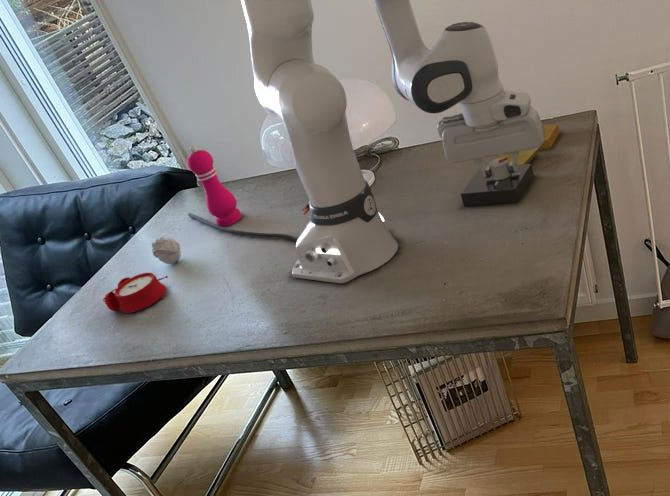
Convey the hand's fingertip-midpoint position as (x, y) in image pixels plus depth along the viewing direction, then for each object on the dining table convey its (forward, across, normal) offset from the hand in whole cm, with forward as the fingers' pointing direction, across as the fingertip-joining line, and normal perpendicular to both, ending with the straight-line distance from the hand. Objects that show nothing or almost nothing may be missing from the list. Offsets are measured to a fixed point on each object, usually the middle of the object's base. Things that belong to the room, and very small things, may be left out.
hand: (501, 173), depth 153 cm
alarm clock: (+4, -80, -23) cm, 83 cm away
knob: (+1, 0, 0) cm, 1 cm away
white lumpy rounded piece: (+4, -79, -8) cm, 80 cm away
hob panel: (+4, -1, 0) cm, 4 cm away
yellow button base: (+4, +3, +22) cm, 22 cm away
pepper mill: (+4, -72, +10) cm, 73 cm away
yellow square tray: (+4, +1, +11) cm, 12 cm away
